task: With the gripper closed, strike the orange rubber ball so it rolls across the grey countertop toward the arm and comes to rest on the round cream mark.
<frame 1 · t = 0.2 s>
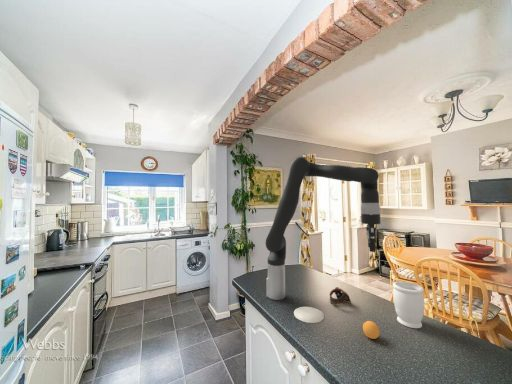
hand: (371, 249, 91), 29 cm above the countertop, tool pointing down, fingers open, 8 cm apart
ball: (371, 329, 76), on the countertop
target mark: (308, 314, 91), on the countertop
pottery mug: (340, 303, 101), on the countertop
jar: (409, 323, 85), on the countertop
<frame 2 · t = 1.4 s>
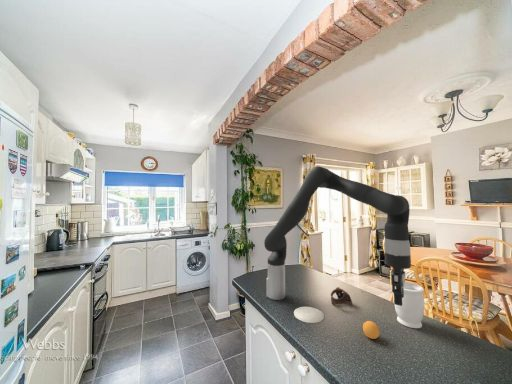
hand: (399, 300, 71), 16 cm above the countertop, tool pointing down, fingers open, 6 cm apart
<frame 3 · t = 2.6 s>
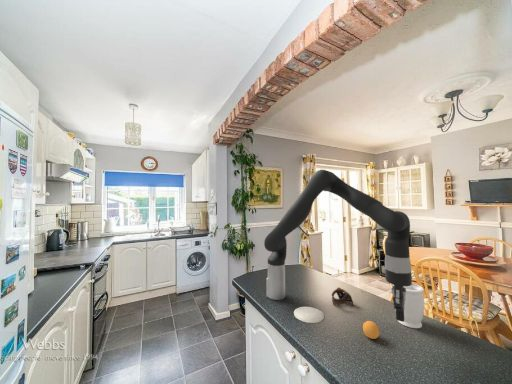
hand: (400, 320, 70), 9 cm above the countertop, tool pointing down, fingers closed
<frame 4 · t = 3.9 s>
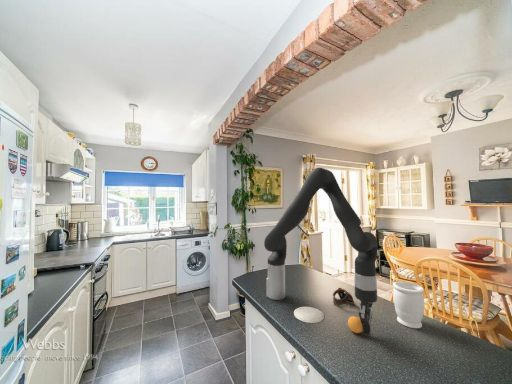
hand: (367, 332, 77), 1 cm above the countertop, tool pointing down, fingers closed
ball: (355, 324, 79), on the countertop
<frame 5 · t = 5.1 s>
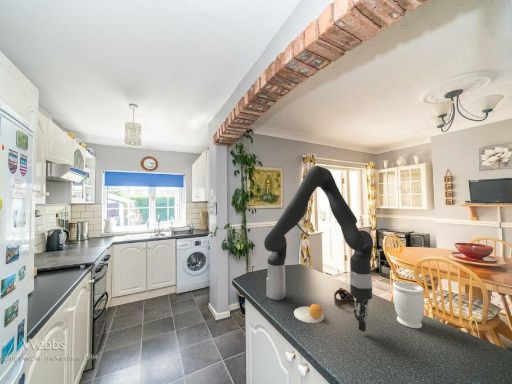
hand: (362, 330, 78), 2 cm above the countertop, tool pointing down, fingers closed
ball: (315, 311, 89), on the countertop
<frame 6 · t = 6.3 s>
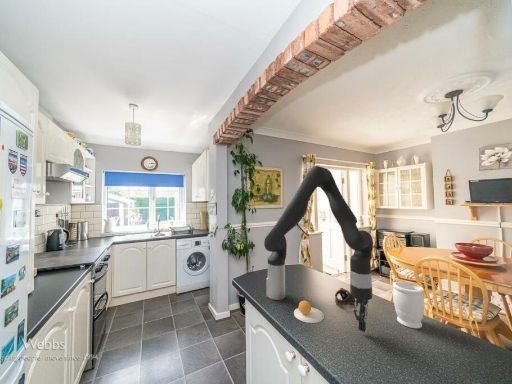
hand: (362, 330, 78), 2 cm above the countertop, tool pointing down, fingers closed
ball: (304, 307, 92), on the countertop
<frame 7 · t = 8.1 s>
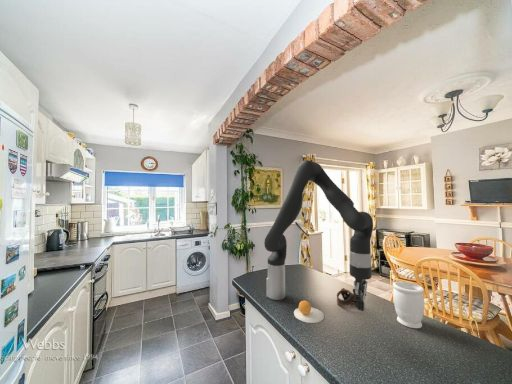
hand: (360, 309, 78), 9 cm above the countertop, tool pointing down, fingers closed
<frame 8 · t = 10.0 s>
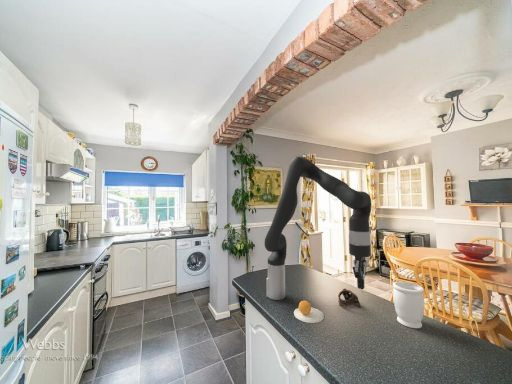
hand: (361, 288, 78), 17 cm above the countertop, tool pointing down, fingers closed
at the end: ball 1.6 cm from the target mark (horizontally); ball at rest at the end (0.0 cm/s); ball moved 26.3 cm from its start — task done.
